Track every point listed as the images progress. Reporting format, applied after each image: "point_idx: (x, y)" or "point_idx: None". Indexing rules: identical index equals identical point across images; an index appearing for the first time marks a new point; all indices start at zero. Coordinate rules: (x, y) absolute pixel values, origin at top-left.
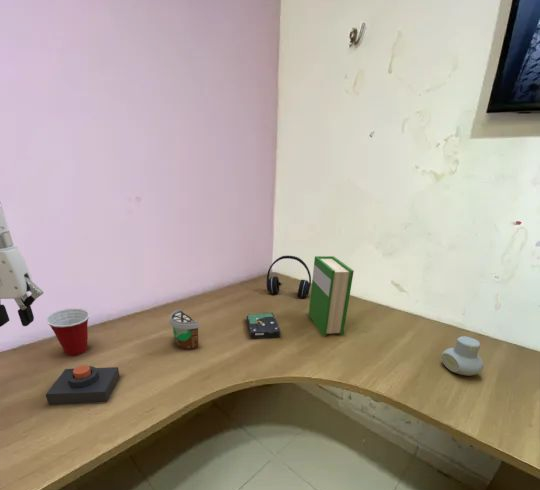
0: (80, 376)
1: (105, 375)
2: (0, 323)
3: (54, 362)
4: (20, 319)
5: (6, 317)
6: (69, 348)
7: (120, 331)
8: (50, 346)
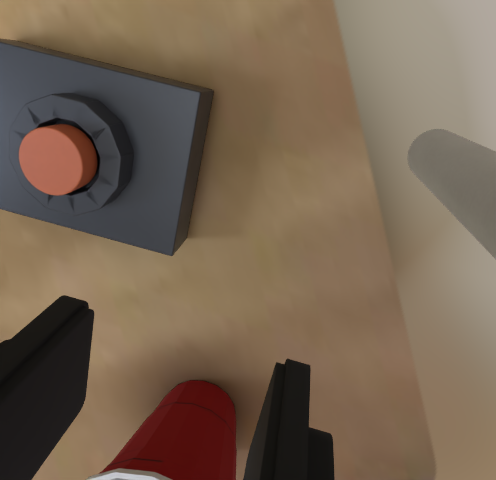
0: (54, 125)
1: (7, 156)
2: (273, 380)
3: (260, 360)
4: (52, 346)
5: (248, 472)
6: (200, 401)
7: (83, 476)
8: None
